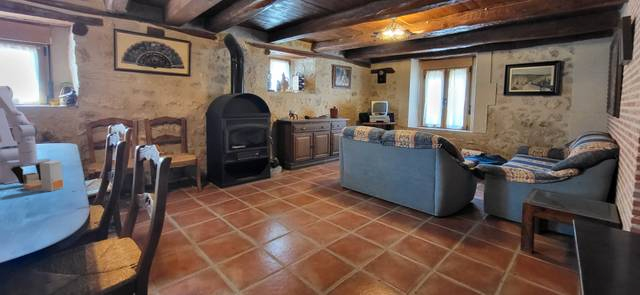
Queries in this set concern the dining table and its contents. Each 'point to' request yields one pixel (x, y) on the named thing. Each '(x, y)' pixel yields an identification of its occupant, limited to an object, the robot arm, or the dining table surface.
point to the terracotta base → (33, 186)
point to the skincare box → (51, 175)
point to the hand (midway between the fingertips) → (31, 181)
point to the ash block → (30, 178)
